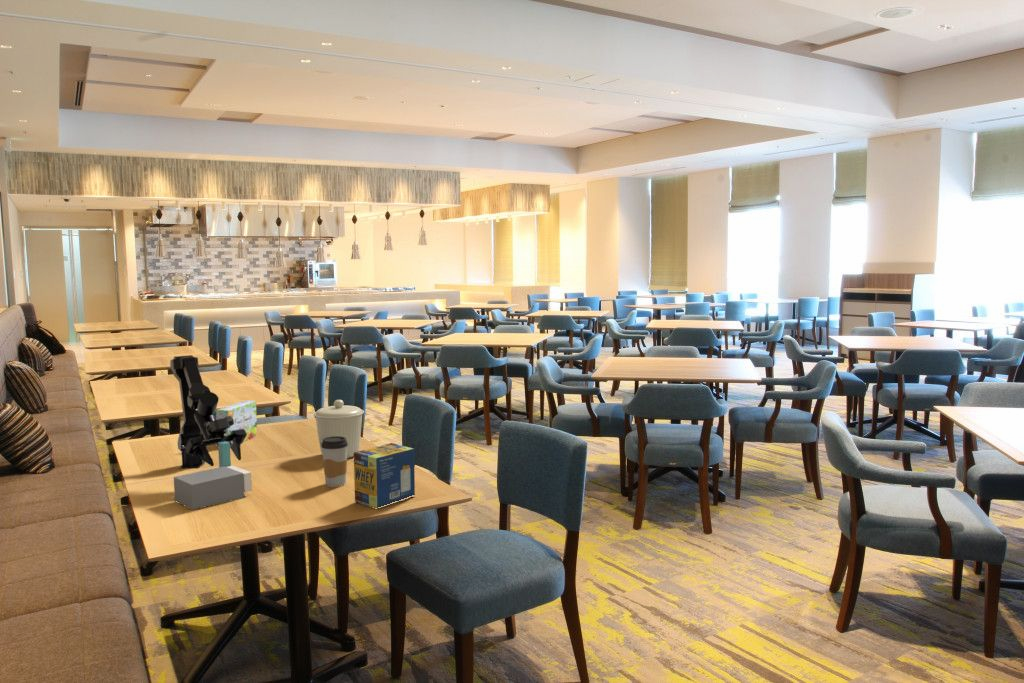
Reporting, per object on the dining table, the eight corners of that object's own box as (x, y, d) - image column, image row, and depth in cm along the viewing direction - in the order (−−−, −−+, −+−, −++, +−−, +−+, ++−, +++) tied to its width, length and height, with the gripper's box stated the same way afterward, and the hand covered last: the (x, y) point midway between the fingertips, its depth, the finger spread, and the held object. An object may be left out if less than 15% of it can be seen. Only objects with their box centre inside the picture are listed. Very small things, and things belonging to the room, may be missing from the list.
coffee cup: (353, 481, 252) (352, 437, 250) (340, 489, 244) (338, 442, 242) (331, 479, 255) (330, 435, 253) (317, 486, 247) (315, 440, 245)
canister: (311, 453, 289) (309, 397, 287) (358, 447, 297) (357, 393, 294) (320, 464, 273) (318, 406, 271) (370, 459, 280) (368, 401, 278)
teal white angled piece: (197, 503, 226) (195, 460, 224) (174, 492, 236) (171, 451, 235) (251, 490, 238) (250, 449, 237) (227, 480, 249) (225, 441, 247)
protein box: (354, 502, 231) (352, 452, 229) (393, 490, 242) (392, 442, 241) (376, 510, 224) (375, 458, 222) (416, 497, 236) (415, 447, 234)
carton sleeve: (193, 510, 225) (191, 484, 224) (175, 501, 233) (173, 477, 232) (244, 497, 236) (243, 473, 235) (225, 489, 244) (224, 466, 243)
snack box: (229, 448, 297) (227, 410, 295) (216, 448, 298) (214, 409, 296) (258, 436, 318) (256, 400, 316) (245, 435, 319) (244, 399, 317)
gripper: (187, 413, 240) (206, 453, 234) (242, 404, 254) (262, 442, 248) (177, 434, 246) (195, 474, 240) (231, 424, 260) (250, 462, 254)
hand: (226, 462), depth 245 cm, fingers open, 9 cm apart
